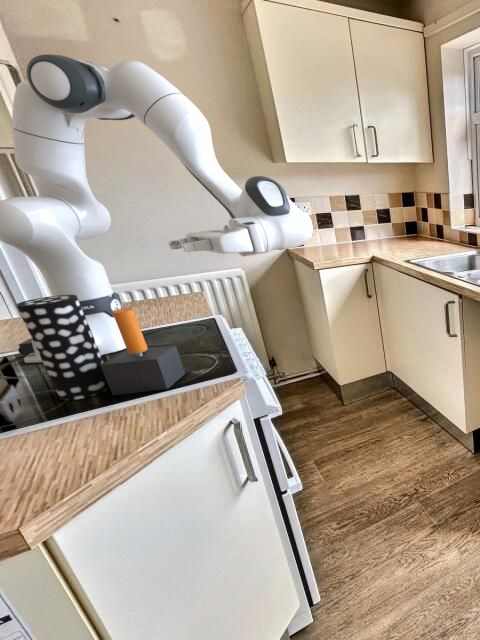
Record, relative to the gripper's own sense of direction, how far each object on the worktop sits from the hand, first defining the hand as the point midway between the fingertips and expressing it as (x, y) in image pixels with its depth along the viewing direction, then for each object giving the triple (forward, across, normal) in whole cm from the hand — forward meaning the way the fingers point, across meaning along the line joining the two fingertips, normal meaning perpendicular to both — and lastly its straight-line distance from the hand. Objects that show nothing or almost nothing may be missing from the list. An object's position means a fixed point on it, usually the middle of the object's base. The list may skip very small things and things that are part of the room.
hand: (176, 246), depth 91 cm
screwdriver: (+13, 0, +28) cm, 31 cm away
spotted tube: (+22, -8, +27) cm, 36 cm away
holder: (+13, 0, +28) cm, 31 cm away
